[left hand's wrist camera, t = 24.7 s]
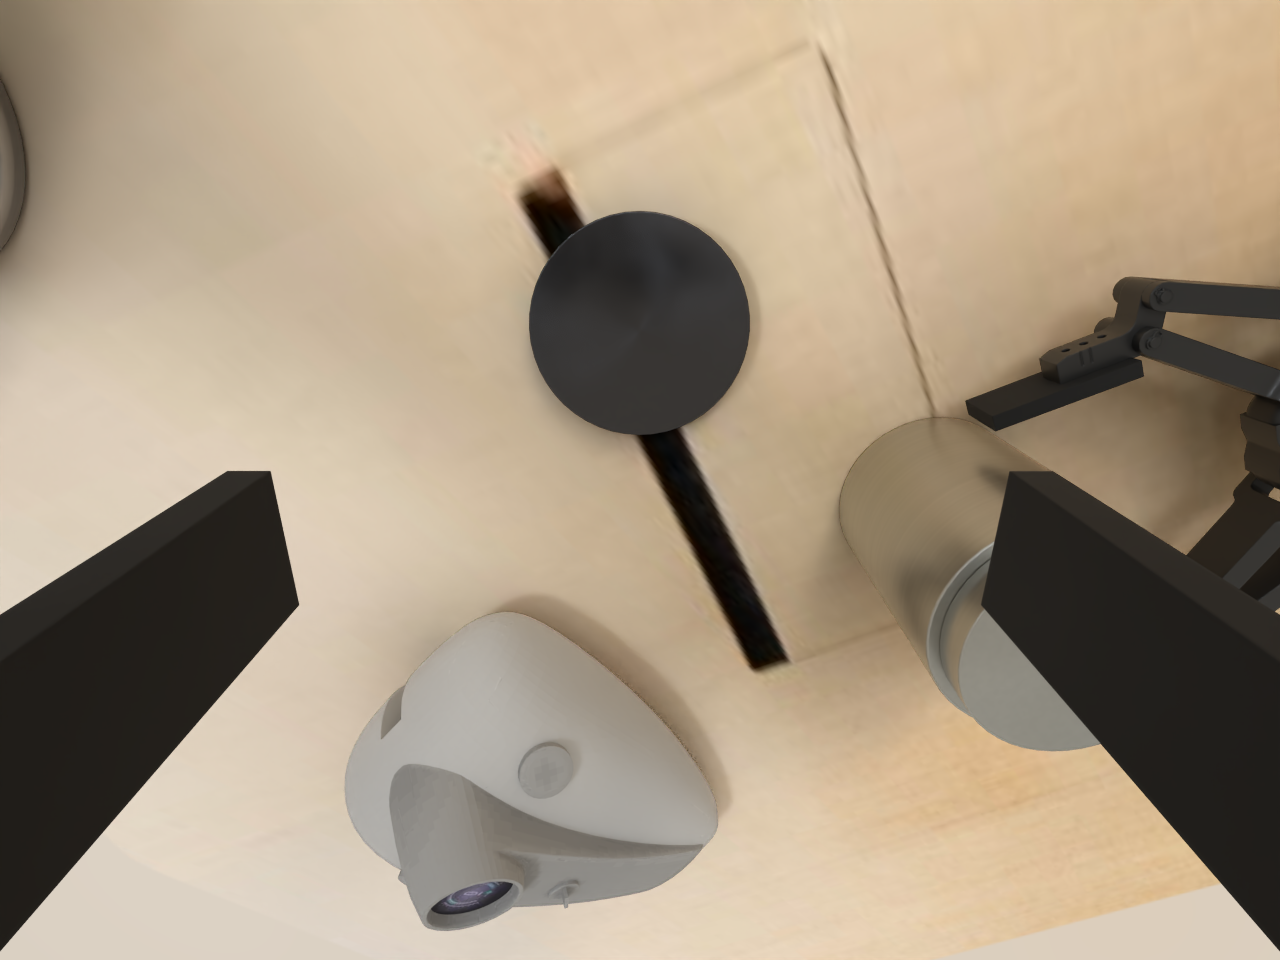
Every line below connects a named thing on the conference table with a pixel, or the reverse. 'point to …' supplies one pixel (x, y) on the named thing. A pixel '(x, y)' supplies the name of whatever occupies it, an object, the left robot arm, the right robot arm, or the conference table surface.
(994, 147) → the conference table surface
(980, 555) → the jar
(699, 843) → the projector
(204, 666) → the left robot arm
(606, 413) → the lid
